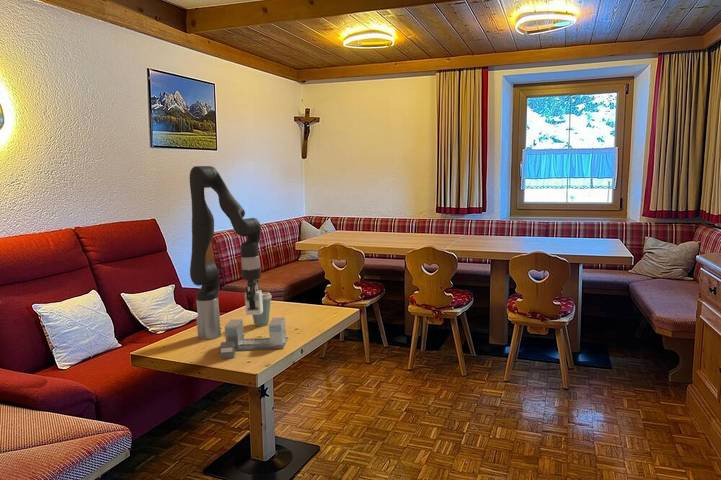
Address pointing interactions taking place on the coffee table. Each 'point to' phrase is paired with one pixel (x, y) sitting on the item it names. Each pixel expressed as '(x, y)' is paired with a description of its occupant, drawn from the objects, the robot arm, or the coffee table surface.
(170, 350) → the coffee table surface
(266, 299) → the disposable coffee cup
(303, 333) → the coffee table surface
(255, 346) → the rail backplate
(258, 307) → the block
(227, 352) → the block
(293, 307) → the coffee table surface
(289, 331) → the coffee table surface
